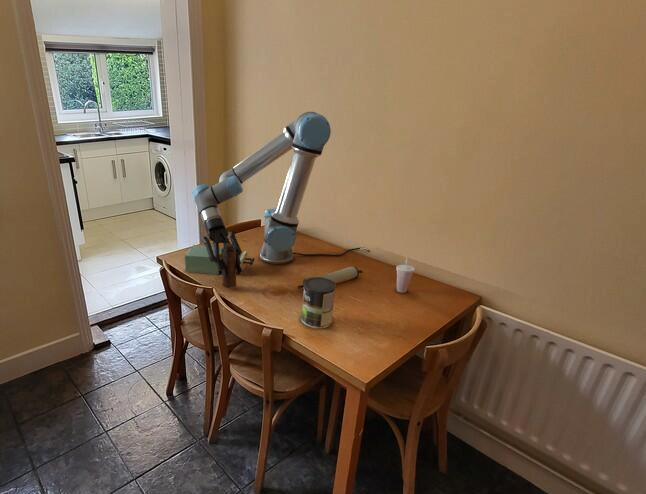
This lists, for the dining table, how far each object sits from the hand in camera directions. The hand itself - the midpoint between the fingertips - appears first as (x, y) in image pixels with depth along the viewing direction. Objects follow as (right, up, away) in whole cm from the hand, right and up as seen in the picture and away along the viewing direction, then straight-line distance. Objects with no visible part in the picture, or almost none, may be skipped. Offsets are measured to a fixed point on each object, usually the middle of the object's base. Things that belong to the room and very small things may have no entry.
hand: (233, 274), depth 156 cm
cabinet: (-12, +3, +25) cm, 28 cm away
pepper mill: (-2, -4, +6) cm, 7 cm away
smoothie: (+65, -6, +4) cm, 66 cm away
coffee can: (+29, -16, -16) cm, 36 cm away
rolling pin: (+39, -4, +9) cm, 40 cm away
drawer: (0, +3, +22) cm, 22 cm away
